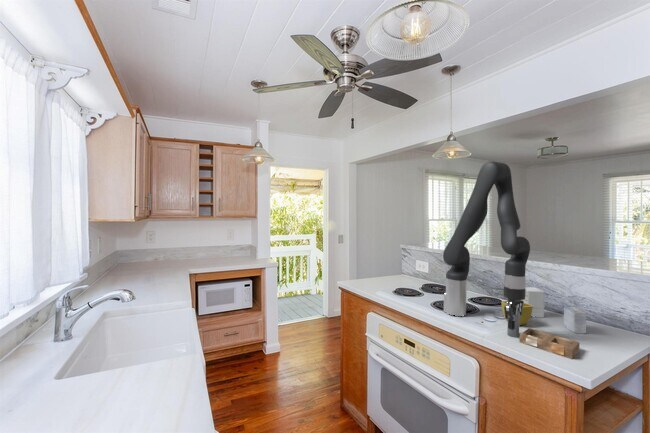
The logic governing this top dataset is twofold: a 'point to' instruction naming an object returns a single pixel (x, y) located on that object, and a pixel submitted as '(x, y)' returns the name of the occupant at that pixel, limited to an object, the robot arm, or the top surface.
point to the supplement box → (535, 300)
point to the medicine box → (575, 320)
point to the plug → (516, 331)
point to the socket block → (550, 343)
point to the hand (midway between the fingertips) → (513, 327)
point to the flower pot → (525, 312)
